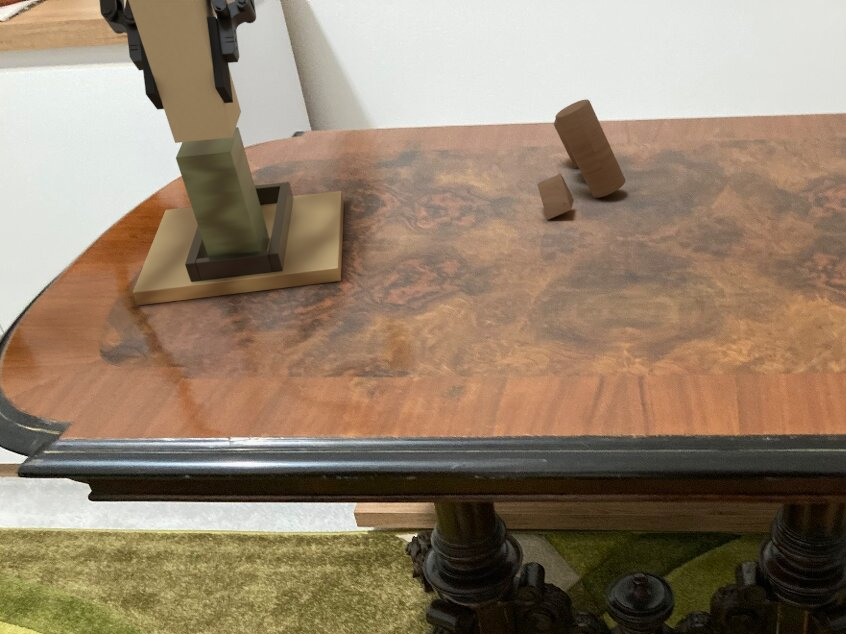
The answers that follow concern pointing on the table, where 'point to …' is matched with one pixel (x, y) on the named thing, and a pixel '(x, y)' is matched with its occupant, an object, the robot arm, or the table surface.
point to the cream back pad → (185, 68)
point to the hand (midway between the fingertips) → (190, 97)
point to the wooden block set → (581, 158)
